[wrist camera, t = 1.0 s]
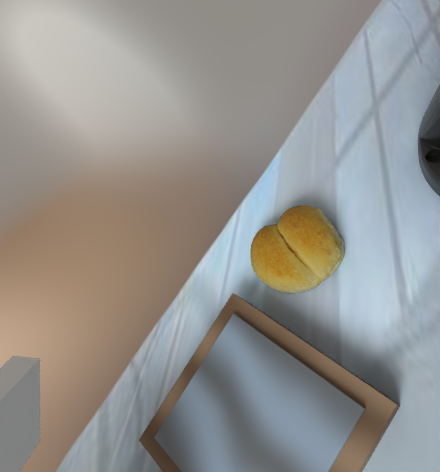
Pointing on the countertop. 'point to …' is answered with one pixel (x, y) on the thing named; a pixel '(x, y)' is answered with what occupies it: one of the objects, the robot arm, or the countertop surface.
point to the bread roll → (297, 250)
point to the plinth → (265, 405)
